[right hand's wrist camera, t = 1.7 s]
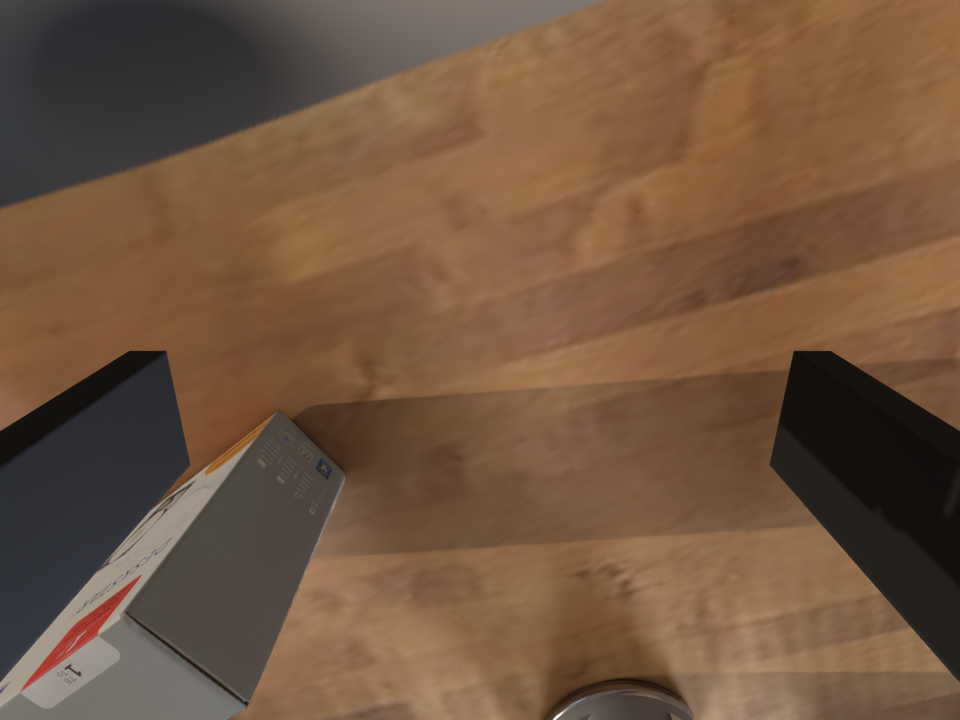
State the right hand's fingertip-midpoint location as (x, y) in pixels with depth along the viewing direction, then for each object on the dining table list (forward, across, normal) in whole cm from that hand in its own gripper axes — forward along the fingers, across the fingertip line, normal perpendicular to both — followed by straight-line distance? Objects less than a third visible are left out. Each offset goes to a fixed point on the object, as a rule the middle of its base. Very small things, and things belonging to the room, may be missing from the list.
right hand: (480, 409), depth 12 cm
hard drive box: (+28, +19, +21) cm, 40 cm away
